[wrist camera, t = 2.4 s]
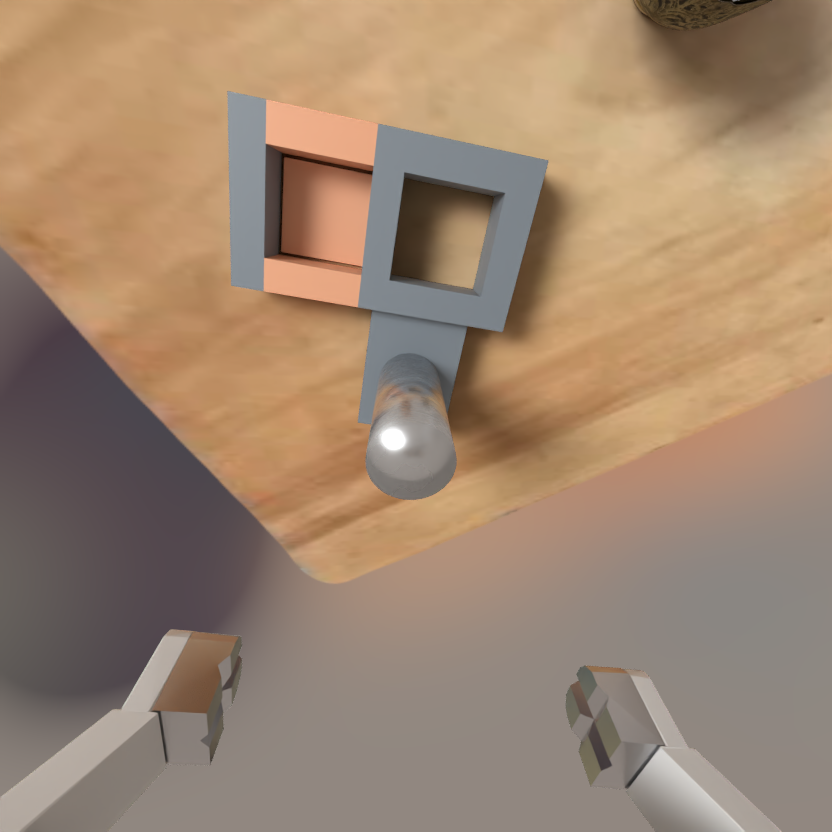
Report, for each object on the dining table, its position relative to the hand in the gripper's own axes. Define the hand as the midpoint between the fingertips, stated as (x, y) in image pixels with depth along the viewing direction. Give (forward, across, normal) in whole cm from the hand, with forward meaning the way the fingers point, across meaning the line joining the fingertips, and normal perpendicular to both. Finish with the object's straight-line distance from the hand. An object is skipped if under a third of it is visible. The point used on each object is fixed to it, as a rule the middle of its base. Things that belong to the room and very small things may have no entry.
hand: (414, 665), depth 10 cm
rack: (+21, +3, -5) cm, 22 cm away
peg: (+19, 0, 0) cm, 19 cm away
